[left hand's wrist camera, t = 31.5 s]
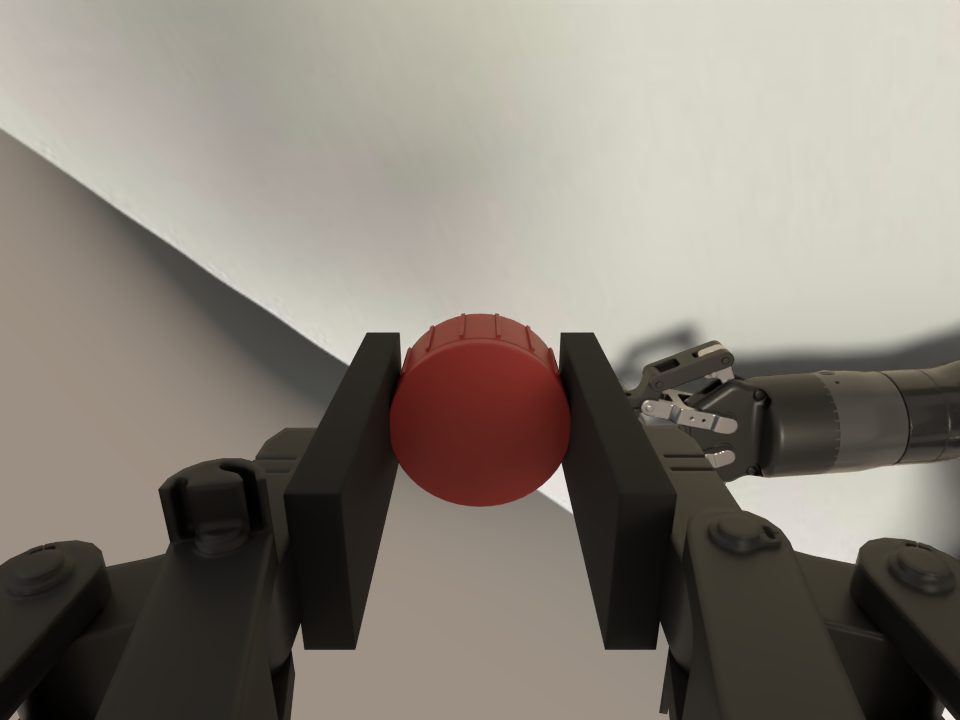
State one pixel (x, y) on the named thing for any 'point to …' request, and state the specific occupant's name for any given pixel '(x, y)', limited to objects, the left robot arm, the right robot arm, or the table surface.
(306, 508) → the left robot arm
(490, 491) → the cap
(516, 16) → the table surface
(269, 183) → the table surface
